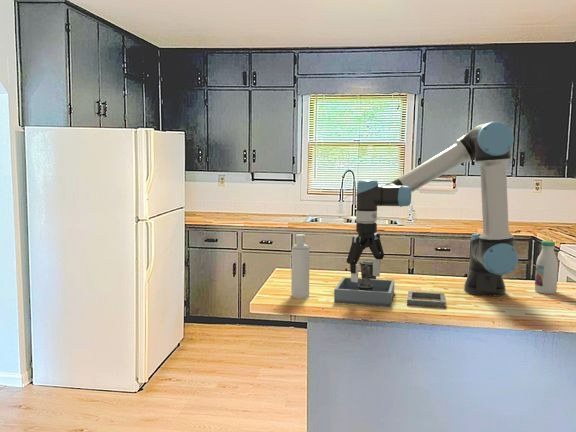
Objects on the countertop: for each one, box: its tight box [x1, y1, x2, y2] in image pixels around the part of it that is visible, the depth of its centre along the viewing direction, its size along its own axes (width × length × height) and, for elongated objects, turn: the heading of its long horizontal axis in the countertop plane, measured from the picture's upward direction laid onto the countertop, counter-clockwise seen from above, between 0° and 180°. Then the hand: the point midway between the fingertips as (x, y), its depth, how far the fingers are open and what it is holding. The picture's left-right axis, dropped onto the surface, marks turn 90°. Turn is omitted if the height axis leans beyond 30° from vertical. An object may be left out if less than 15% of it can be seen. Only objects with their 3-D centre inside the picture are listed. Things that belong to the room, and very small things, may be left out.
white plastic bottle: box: [291, 233, 310, 299], centre depth 200 cm, size 7×7×25 cm
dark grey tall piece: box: [358, 264, 374, 291], centre depth 199 cm, size 6×6×12 cm
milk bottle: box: [534, 240, 559, 295], centre depth 207 cm, size 8×8×20 cm
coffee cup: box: [358, 259, 377, 279], centre depth 219 cm, size 8×8×10 cm
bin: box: [333, 276, 395, 308], centre depth 199 cm, size 20×20×5 cm
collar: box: [406, 290, 446, 309], centre depth 194 cm, size 13×13×2 cm
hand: (365, 278), depth 199 cm, fingers open, 13 cm apart
